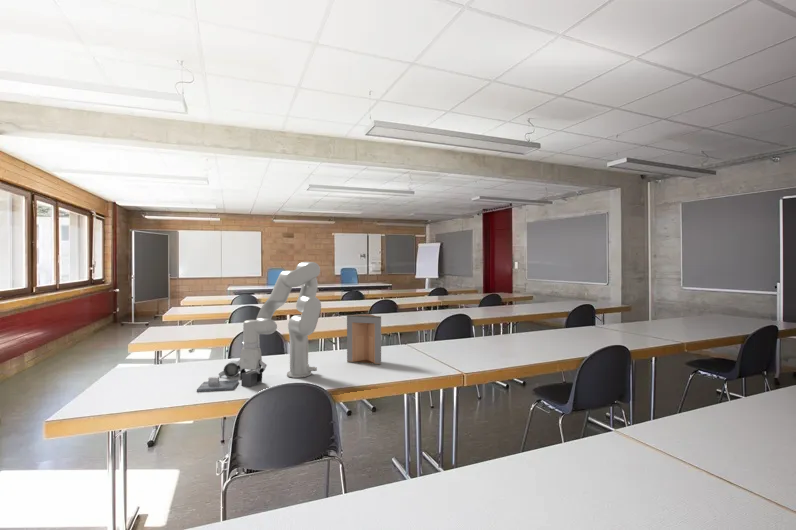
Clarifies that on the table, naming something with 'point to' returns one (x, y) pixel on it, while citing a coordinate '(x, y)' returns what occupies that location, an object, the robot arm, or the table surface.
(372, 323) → the cabinet
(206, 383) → the plate
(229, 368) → the ceramic mug
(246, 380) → the dark grey block
